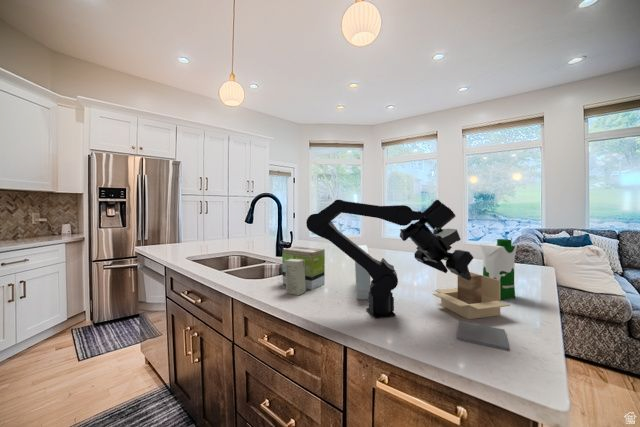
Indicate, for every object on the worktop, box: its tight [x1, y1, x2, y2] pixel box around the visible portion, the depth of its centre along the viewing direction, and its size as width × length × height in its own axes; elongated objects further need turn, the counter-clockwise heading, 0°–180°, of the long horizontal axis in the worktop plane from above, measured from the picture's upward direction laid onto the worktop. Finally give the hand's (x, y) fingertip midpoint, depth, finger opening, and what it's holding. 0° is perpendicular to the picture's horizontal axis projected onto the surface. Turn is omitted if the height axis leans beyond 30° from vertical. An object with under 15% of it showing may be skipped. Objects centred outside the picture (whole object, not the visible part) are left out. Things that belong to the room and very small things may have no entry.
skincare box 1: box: [285, 259, 307, 296], centre depth 98 cm, size 6×4×12 cm
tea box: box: [281, 246, 326, 291], centre depth 109 cm, size 15×10×15 cm, turn 58°
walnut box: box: [457, 271, 483, 304], centre depth 80 cm, size 4×5×11 cm
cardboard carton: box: [432, 271, 511, 320], centre depth 80 cm, size 14×17×10 cm
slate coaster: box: [456, 320, 510, 351], centre depth 64 cm, size 10×10×1 cm
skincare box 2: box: [354, 244, 372, 301], centre depth 100 cm, size 21×5×16 cm, turn 172°
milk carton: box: [480, 238, 518, 301], centre depth 93 cm, size 9×9×20 cm
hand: (457, 275), depth 79 cm, fingers open, 9 cm apart
